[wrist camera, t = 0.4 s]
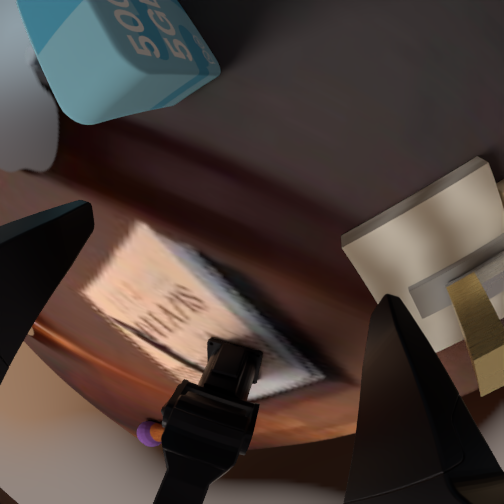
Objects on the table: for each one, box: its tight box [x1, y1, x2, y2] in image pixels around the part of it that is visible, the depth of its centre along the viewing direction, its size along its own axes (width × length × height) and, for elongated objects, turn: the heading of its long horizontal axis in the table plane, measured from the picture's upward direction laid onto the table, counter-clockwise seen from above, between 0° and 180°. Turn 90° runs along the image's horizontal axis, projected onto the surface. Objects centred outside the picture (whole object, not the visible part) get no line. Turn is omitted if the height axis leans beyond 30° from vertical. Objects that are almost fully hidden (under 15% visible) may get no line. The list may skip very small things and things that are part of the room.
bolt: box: [445, 251, 504, 396], centre depth 15 cm, size 7×5×9 cm
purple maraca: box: [137, 421, 165, 447], centre depth 50 cm, size 6×6×20 cm
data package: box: [17, 0, 221, 125], centre depth 13 cm, size 12×4×12 cm, turn 29°
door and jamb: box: [341, 156, 504, 353], centre depth 17 cm, size 19×16×10 cm
